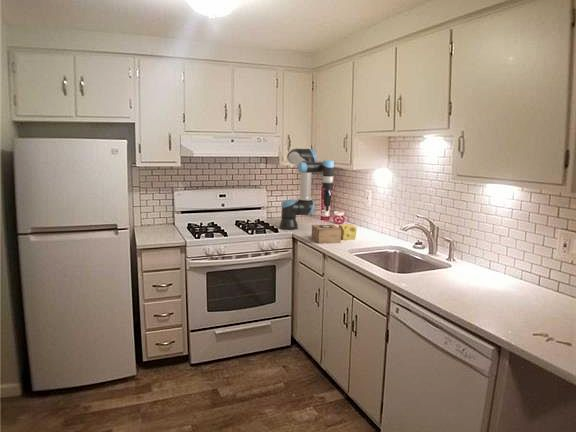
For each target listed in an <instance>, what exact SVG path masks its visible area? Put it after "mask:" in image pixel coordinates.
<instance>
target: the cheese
mask: <svg viewBox="0 0 576 432" xmlns="http://www.w3.org/2000/svg"><path fill="white" fill-rule="evenodd" d="M337 227H338V228H340V229H341V241H351V240H352V241H353V240H354V241H355V240H356V237H357V232H358V231H357V229H358V228H357V226H356V225H353V224H346V223H345V224H338V226H337Z"/></svg>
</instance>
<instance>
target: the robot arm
mask: <svg viewBox="0 0 576 432" xmlns="http://www.w3.org/2000/svg"><path fill="white" fill-rule="evenodd" d="M317 157H318V156H317V152H316V150H315V149H314V148H293V149H291V150H290V151H288V153H287V155H286V159H287V161H288V162H289V163H290V164H292V165H295V167H297V171H298V172H299V173H300V189H299V190H300V193H299V194H300V195H299V197H298V199H294V198H291V199H286V200H285V199H284V200H283V201H282V202H281V220H280V222H279V225H278V226H279V227H278V228H279V229H280V230H287V231H290V230H291V231H292V230H297V229H298V227H299V225H298V222H297V216H311V215H312V214H313V213H314V212H315V205H316V204H315V201H314V200H313V198H312V197H311V195H312V193H311V191H312V173H313V174H314V173H315V174H317V173H318V174H322V177H321V179H322V188H323V191H322V195H323V196H322V197H323V205H324V212H323V213H324V214H323V215H324V216H329V214H330V209H329V208H330V206H331V204H332V203H331V201H332V195H333V194H332V190H331V189H333V188H334V183H333V182H334V176H335V173H334V170H335V168H334V167H335V162H334V160H332V159H331V160H330V159H324V160H323V161H319V162H318V161H317V160H318V159H317Z"/></svg>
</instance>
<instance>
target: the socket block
mask: <svg viewBox="0 0 576 432" xmlns="http://www.w3.org/2000/svg"><path fill="white" fill-rule="evenodd" d="M323 226H330V227H323ZM338 227H339V226H336V225H335V224H311V239H312V240H313V241H314V242H316V243H317V244H319V245H323V244H324V243H326V244H341V241H342V238H341V229H340V228H338Z"/></svg>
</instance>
